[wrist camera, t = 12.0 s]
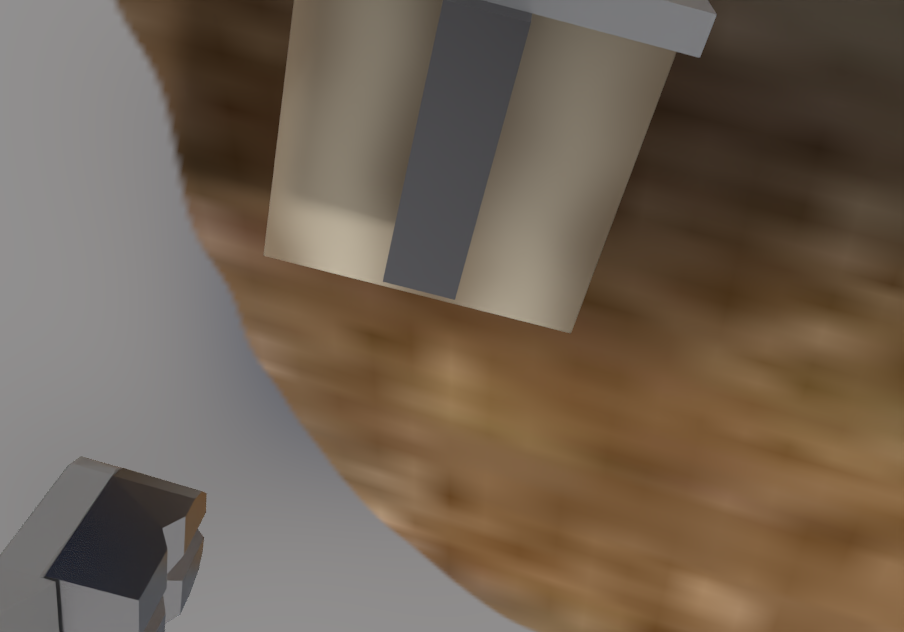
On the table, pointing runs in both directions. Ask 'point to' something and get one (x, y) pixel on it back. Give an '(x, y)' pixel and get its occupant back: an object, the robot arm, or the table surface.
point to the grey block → (494, 115)
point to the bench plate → (514, 165)
